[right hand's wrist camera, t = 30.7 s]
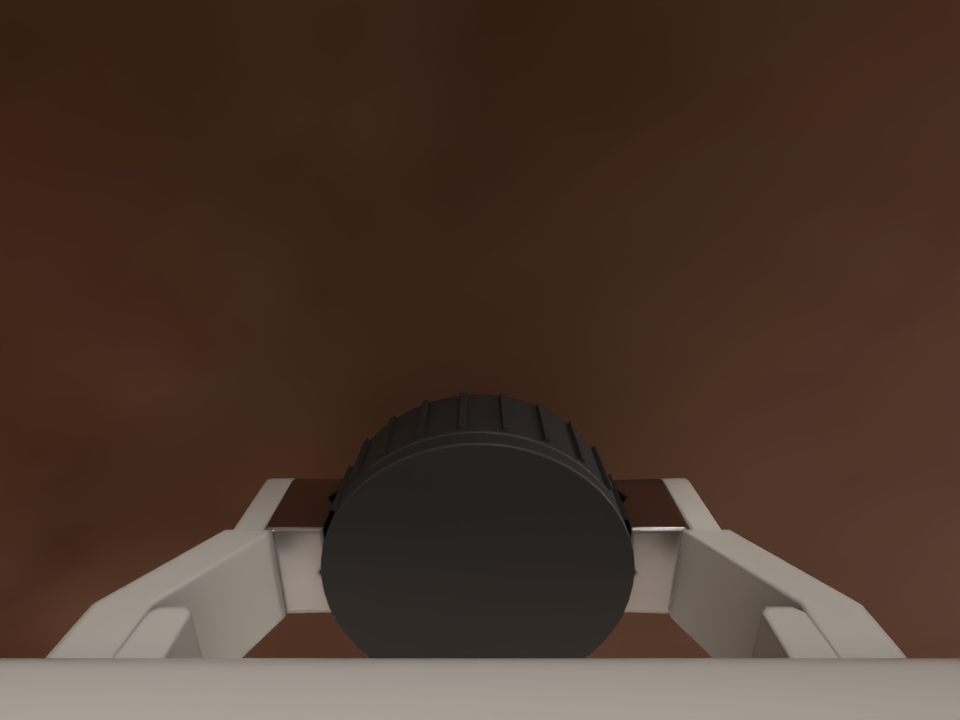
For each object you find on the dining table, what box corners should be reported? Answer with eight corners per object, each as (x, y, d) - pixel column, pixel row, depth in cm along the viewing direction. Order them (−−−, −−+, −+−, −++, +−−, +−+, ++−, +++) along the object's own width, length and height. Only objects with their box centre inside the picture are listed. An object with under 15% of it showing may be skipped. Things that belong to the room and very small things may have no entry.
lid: (629, 592, 11) (656, 669, 9) (386, 634, 11) (370, 715, 10) (592, 362, 9) (616, 407, 8) (304, 422, 10) (267, 478, 8)
